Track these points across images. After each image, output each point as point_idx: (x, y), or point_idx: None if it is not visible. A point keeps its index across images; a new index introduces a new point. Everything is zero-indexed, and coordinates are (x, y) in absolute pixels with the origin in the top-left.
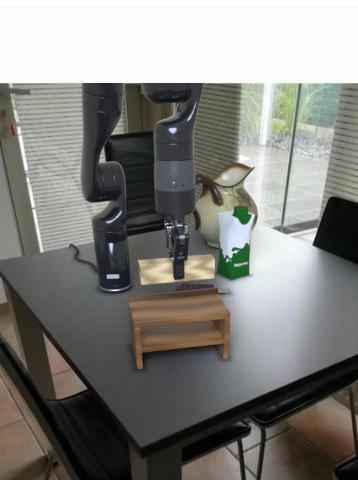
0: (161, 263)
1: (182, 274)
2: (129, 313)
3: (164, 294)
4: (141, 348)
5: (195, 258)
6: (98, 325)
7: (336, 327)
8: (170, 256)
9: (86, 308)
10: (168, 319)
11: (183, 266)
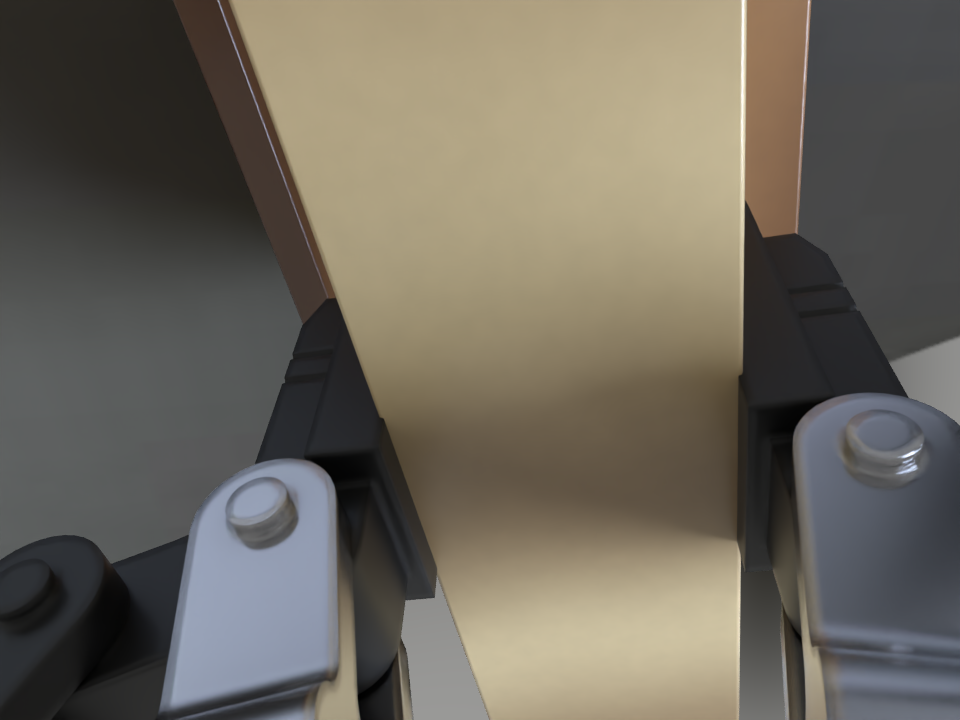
0: (728, 660)
1: (831, 273)
2: None
3: (311, 239)
4: None
5: (541, 95)
6: (199, 428)
7: None
8: (431, 577)
9: (16, 491)
10: (800, 177)
11: (795, 330)
